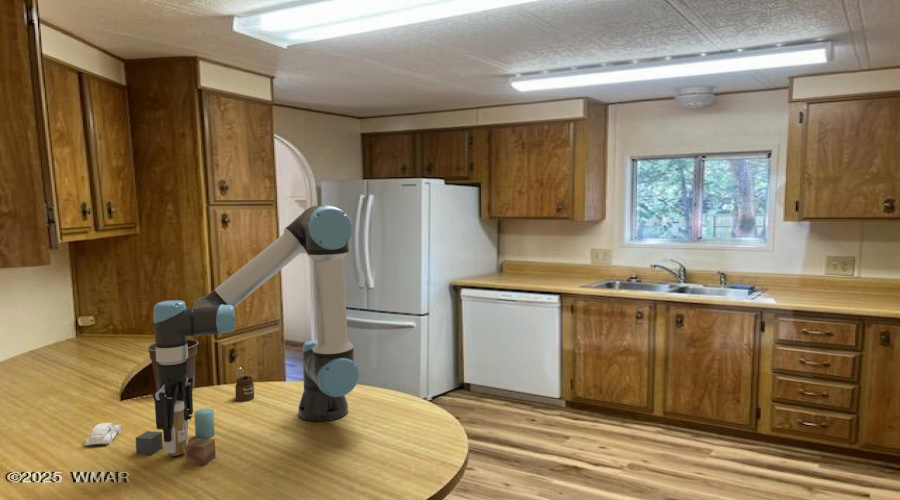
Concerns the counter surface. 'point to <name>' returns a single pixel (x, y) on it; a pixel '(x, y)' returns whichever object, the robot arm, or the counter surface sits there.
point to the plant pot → (191, 359)
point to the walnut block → (200, 452)
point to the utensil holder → (245, 386)
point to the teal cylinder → (204, 423)
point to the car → (103, 434)
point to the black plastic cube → (149, 443)
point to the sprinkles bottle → (179, 428)
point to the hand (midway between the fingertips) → (176, 448)
